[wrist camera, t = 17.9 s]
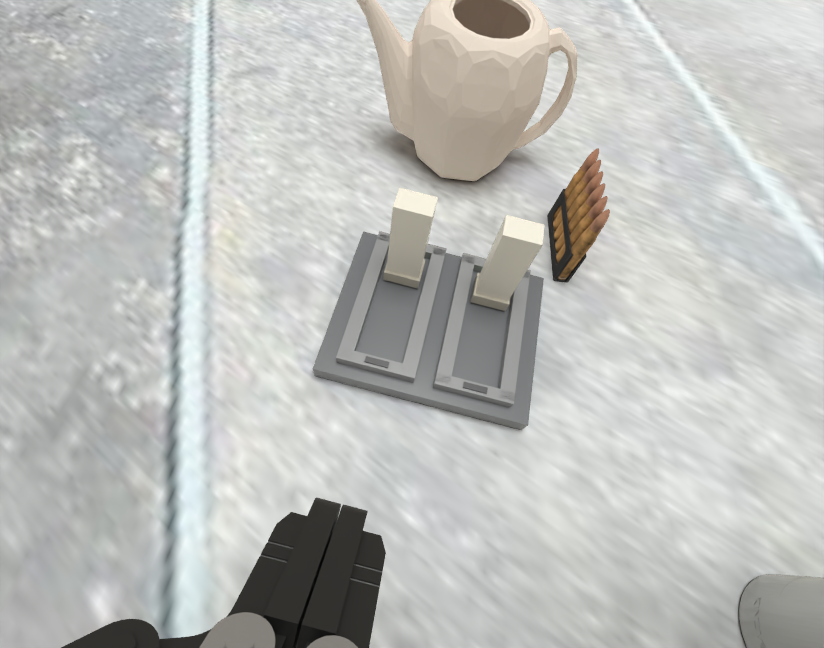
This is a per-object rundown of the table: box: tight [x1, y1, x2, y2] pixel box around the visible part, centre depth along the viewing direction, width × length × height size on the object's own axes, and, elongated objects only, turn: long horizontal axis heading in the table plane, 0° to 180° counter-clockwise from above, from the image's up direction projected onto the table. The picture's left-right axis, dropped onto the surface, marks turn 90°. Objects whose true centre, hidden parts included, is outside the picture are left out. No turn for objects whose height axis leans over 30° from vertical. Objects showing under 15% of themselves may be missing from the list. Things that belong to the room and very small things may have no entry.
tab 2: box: [470, 215, 545, 311], centre depth 44 cm, size 4×3×12 cm
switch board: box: [313, 231, 544, 430], centre depth 48 cm, size 22×18×3 cm
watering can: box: [357, 0, 577, 181], centre depth 54 cm, size 16×27×19 cm, turn 88°
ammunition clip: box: [548, 149, 610, 282], centre depth 51 cm, size 11×2×12 cm, turn 176°
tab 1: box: [383, 188, 438, 289], centre depth 44 cm, size 4×3×12 cm
